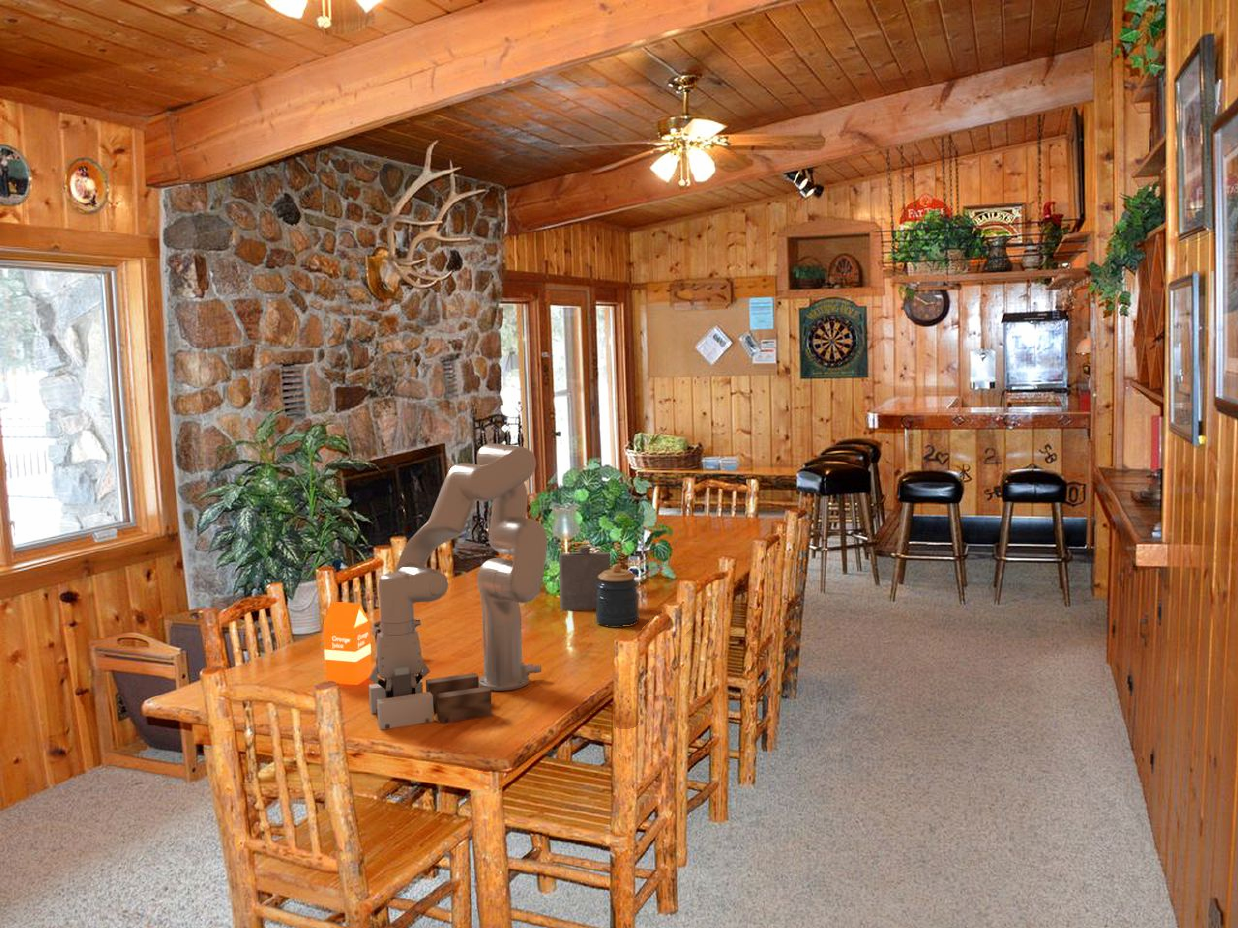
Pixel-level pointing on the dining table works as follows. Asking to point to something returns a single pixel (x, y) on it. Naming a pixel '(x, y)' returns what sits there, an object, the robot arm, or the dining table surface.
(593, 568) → the hip flask
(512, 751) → the dining table surface
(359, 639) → the orange juice
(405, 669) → the plug
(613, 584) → the canister
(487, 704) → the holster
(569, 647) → the dining table surface
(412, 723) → the dock
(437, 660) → the dining table surface
